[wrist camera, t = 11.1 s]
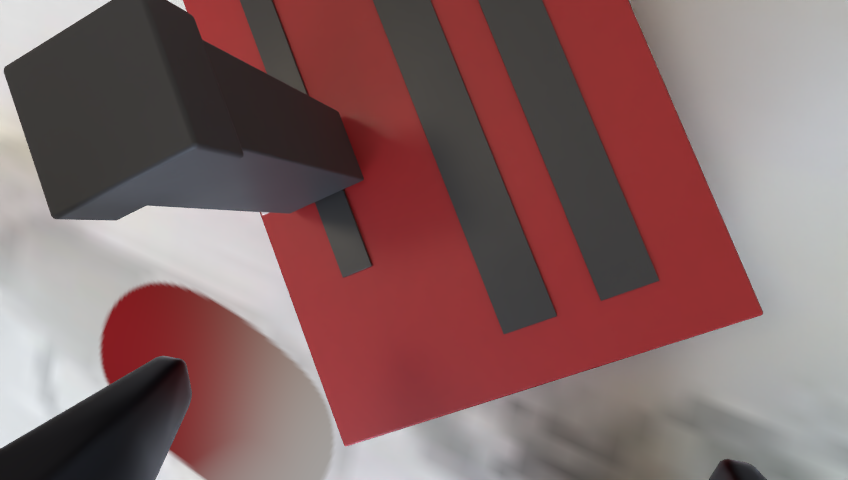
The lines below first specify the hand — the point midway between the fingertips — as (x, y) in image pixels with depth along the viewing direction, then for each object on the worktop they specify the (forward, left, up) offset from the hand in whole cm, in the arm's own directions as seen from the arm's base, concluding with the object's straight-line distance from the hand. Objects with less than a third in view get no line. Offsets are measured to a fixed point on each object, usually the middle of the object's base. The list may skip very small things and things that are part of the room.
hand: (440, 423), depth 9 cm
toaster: (+7, 0, -13) cm, 15 cm away
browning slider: (+6, +3, -5) cm, 8 cm away
